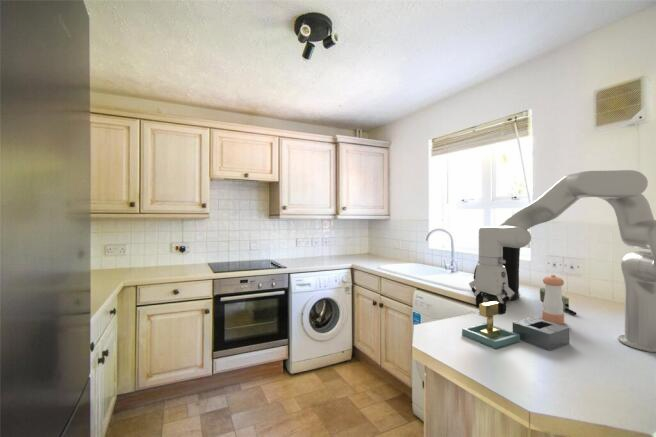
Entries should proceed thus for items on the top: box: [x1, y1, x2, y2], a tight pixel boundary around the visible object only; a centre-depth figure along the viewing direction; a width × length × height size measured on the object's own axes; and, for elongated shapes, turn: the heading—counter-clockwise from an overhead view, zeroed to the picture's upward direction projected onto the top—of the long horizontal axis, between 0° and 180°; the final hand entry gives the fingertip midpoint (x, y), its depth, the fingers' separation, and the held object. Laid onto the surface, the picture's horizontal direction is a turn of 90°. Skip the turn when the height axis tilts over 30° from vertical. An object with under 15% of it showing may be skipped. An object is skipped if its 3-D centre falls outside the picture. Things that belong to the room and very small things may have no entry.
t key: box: [478, 301, 500, 339], centre depth 106 cm, size 8×2×12 cm, turn 117°
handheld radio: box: [539, 287, 577, 316], centre depth 143 cm, size 7×3×25 cm
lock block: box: [512, 316, 570, 352], centre depth 105 cm, size 12×12×6 cm
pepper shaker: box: [541, 274, 565, 325], centre depth 124 cm, size 7×7×19 cm
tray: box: [461, 322, 521, 350], centre depth 107 cm, size 13×13×2 cm
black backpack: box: [473, 247, 521, 302], centre depth 163 cm, size 23×32×34 cm
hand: (490, 310), depth 106 cm, fingers open, 8 cm apart
